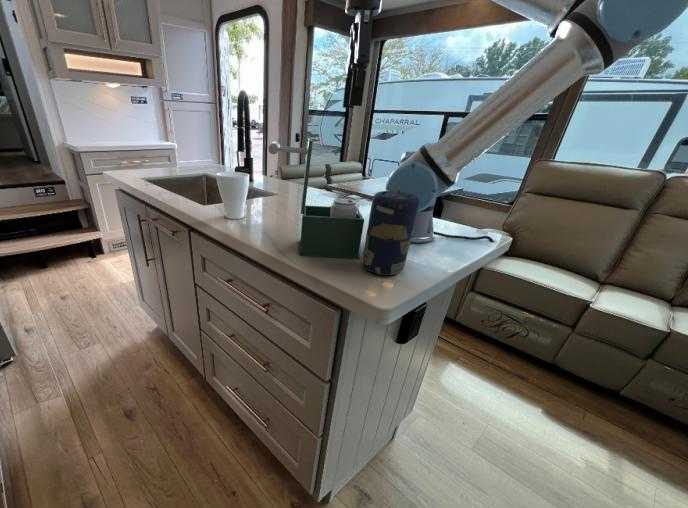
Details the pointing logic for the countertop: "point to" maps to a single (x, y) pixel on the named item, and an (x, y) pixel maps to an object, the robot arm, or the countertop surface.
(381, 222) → the canister
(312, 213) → the chest
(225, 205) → the cup
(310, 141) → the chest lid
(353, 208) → the beverage can
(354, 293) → the countertop surface
